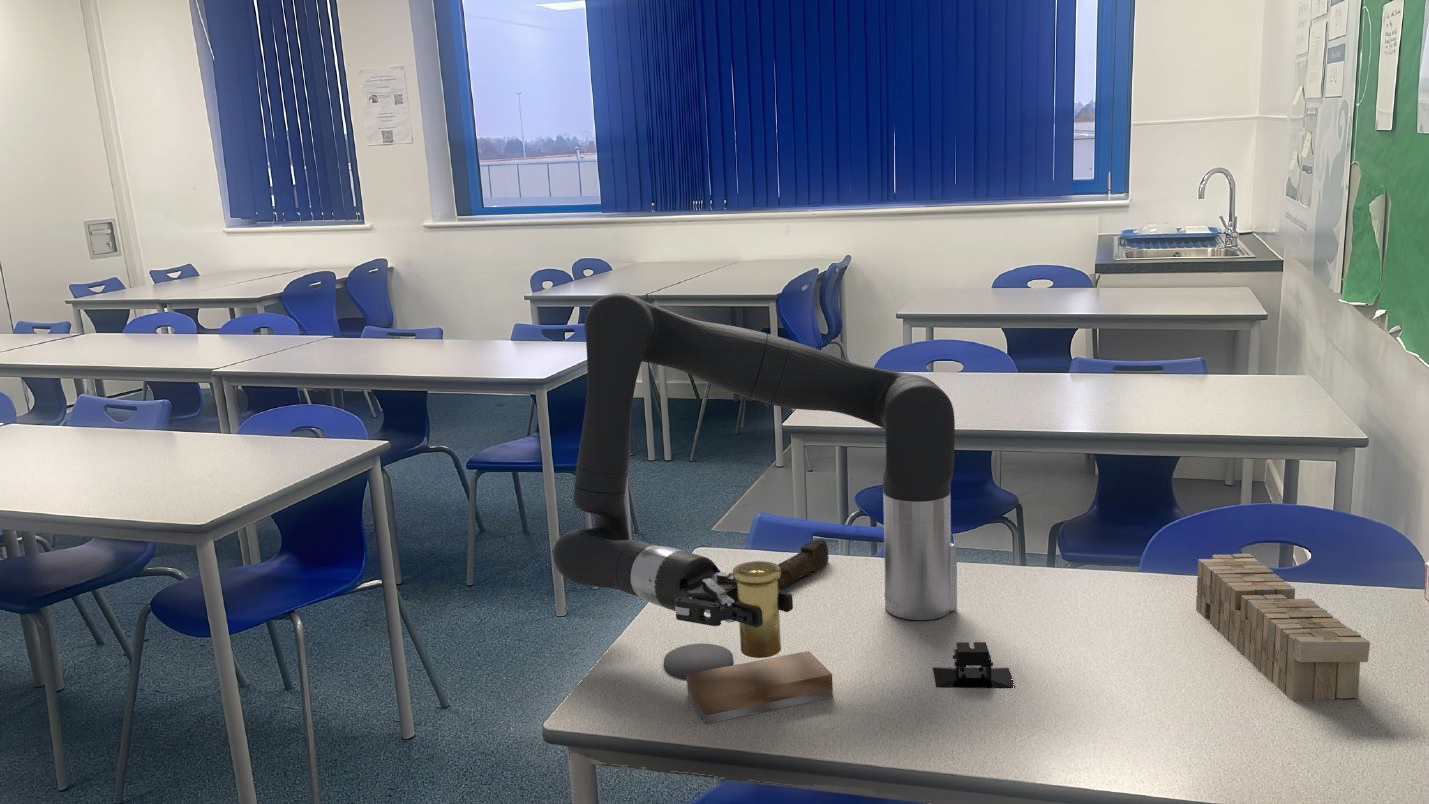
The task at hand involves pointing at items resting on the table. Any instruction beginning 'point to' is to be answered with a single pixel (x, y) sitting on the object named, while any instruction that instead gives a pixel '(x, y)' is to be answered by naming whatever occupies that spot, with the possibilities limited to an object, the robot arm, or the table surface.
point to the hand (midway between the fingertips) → (775, 610)
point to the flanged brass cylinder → (762, 592)
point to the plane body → (759, 686)
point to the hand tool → (804, 562)
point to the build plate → (972, 669)
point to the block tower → (1280, 629)
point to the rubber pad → (697, 659)
